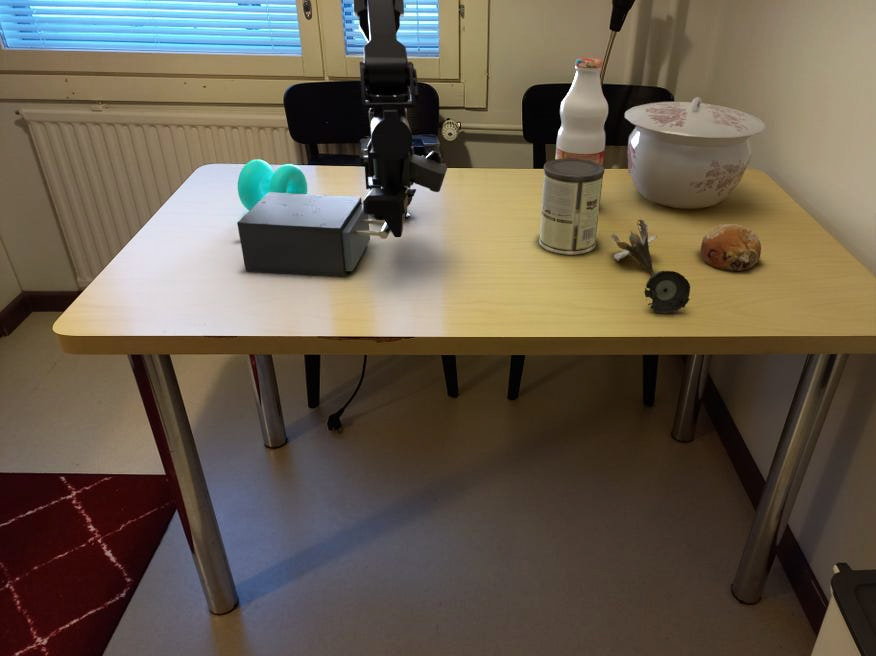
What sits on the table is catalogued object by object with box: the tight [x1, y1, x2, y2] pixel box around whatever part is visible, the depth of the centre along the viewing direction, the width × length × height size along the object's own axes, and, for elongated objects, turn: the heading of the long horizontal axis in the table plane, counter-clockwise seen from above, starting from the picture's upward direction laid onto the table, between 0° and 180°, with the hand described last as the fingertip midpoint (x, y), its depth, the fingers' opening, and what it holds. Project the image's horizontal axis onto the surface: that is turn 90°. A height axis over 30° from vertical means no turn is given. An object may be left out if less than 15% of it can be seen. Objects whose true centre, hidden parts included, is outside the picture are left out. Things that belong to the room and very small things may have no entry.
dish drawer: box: [342, 202, 391, 272], centre depth 115 cm, size 21×13×7 cm, turn 85°
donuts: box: [237, 158, 308, 212], centre depth 131 cm, size 10×10×10 cm
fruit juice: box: [554, 57, 609, 166], centre depth 133 cm, size 9×9×28 cm
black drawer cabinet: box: [236, 192, 363, 278], centre depth 115 cm, size 16×14×8 cm
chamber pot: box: [624, 96, 767, 210], centre depth 141 cm, size 28×28×21 cm
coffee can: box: [538, 158, 606, 256], centre depth 120 cm, size 10×10×14 cm
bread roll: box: [700, 223, 762, 272], centre depth 119 cm, size 10×10×8 cm
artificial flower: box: [610, 219, 691, 315], centre depth 110 cm, size 9×22×10 cm, turn 179°
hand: (398, 236), depth 114 cm, fingers closed, pressing on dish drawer
